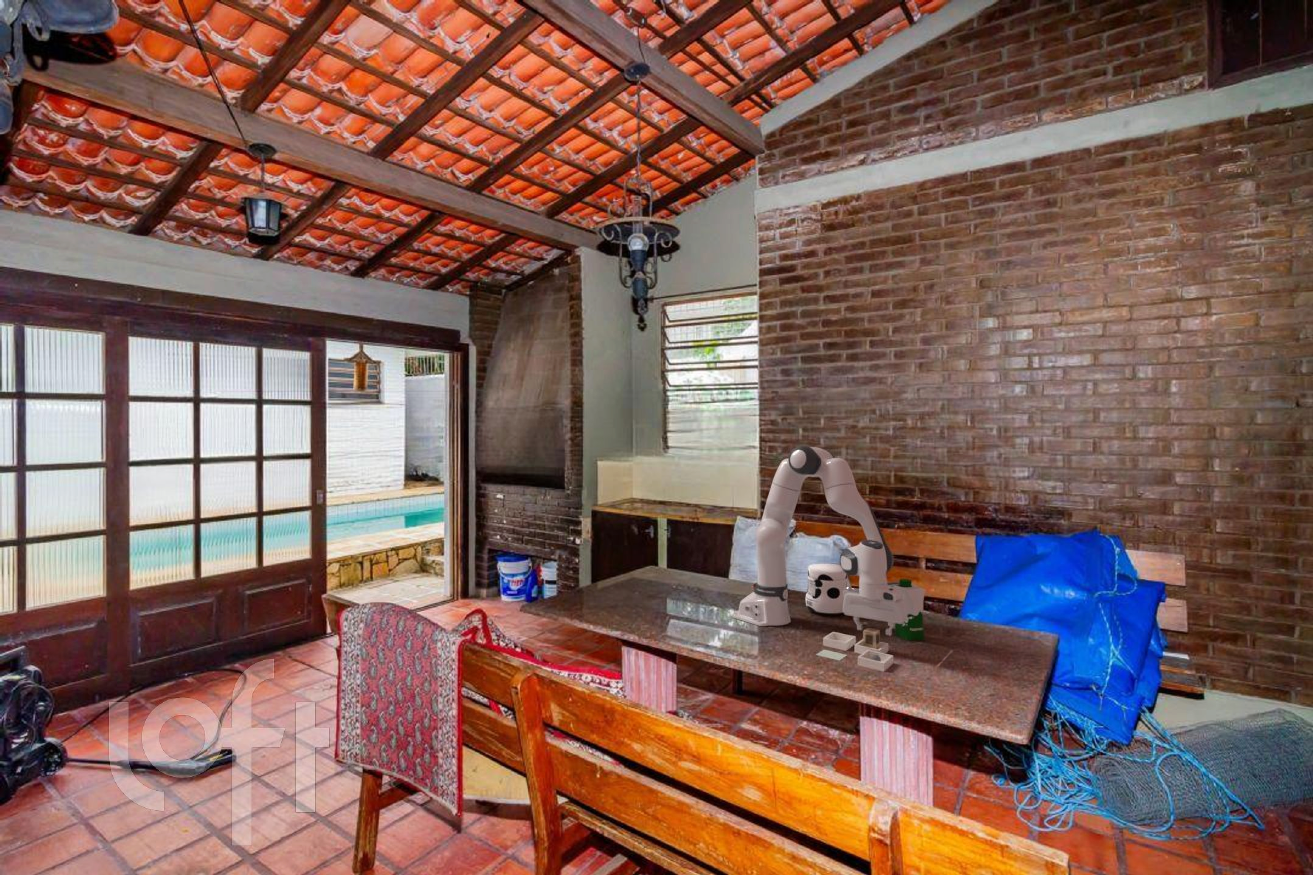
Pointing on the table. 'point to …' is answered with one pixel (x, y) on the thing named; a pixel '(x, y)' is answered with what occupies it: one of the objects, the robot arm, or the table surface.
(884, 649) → the white square cubby
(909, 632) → the milk carton
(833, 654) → the pad
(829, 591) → the milk container
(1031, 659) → the table surface
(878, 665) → the white square open box
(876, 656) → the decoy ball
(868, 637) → the tan tall block
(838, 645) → the white open square tray
